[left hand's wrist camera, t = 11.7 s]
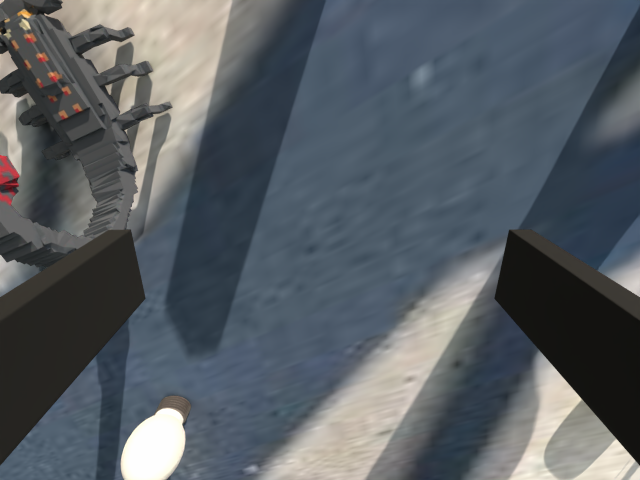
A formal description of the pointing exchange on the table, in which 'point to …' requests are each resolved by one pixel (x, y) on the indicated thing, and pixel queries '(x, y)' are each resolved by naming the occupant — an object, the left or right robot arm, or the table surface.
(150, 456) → the light bulb
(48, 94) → the toy
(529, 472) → the table surface
